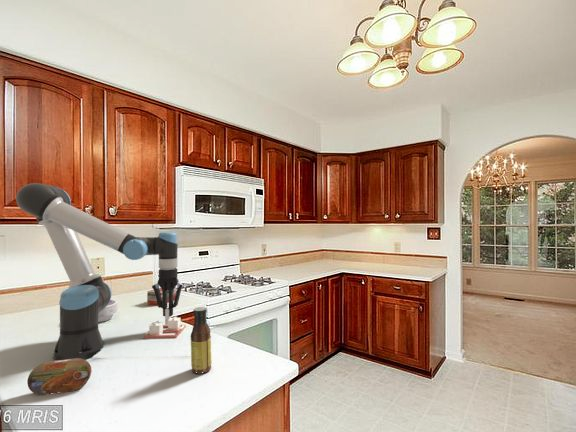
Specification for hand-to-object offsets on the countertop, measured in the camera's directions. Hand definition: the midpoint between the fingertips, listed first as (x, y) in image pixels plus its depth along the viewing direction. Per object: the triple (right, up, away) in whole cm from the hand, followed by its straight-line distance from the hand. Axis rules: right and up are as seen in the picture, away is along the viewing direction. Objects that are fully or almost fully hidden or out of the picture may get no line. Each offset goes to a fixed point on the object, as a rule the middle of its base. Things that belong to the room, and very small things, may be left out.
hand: (167, 323), depth 134 cm
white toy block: (+3, -3, 0) cm, 4 cm away
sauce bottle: (+23, -4, -34) cm, 41 cm away
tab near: (-2, -3, -6) cm, 7 cm away
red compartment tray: (0, -4, -3) cm, 5 cm away
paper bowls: (-40, -5, +18) cm, 44 cm away
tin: (-13, -4, -45) cm, 47 cm away
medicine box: (-23, -5, +50) cm, 55 cm away
